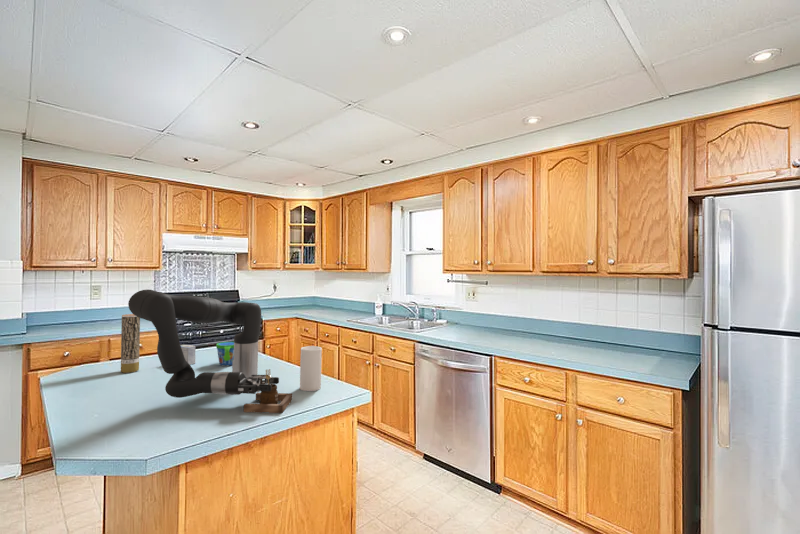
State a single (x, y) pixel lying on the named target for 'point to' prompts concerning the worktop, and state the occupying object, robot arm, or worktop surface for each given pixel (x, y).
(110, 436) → the worktop surface
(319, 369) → the cup
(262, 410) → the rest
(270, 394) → the utensil holder
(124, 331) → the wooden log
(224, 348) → the snack cup
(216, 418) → the worktop surface
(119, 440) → the worktop surface
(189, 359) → the medicine box
